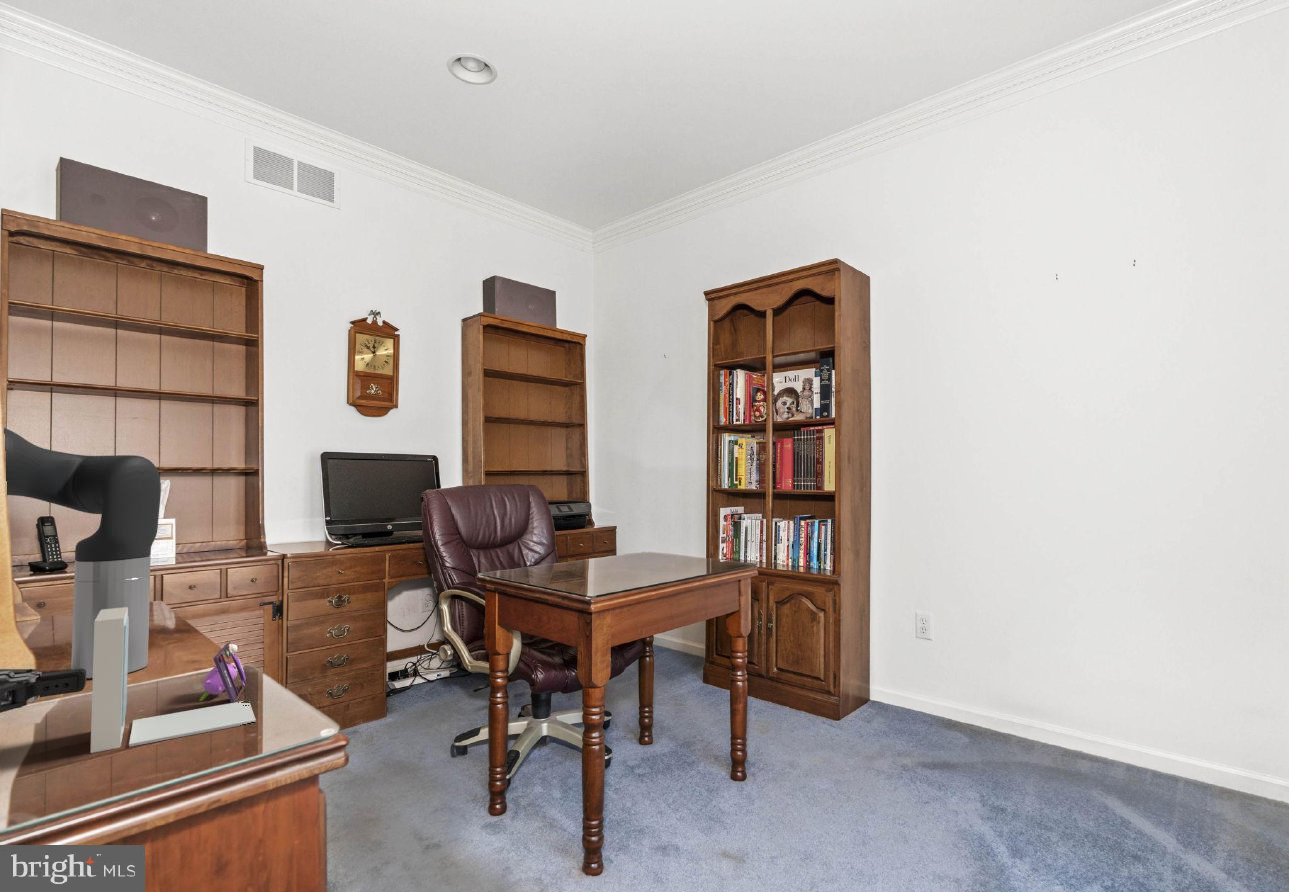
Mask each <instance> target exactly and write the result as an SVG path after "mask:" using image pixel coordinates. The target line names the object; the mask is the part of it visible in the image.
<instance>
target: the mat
mask: <svg viewBox="0 0 1289 892" xmlns="http://www.w3.org/2000/svg"><path fill="white" fill-rule="evenodd" d="M243 701H244V700H241V701H238V702H239V703H238V702H235V703H231V702H230V703H224V704H218V705H213V706H207V707H201V708H195V709H190V710H185V711H178V712H173V713H172V712H171V713H168V714H161V715H156V716H155V715H154V716H149V717H143V718H138V719H133V720H132V724H131V726H132V727H131V733H130V737H129V742H128V747H129V748H131V747H135V746H140V745H146V744H151V743H156V742H162V741H166V740H167V741H168V740H172V739H178V738H183V737H187V736H193V735H198V734H203V733H209V732H214V731H219V730H225V729H230V728H234V727H240V725H241V726H243V725H242V724H246V725H248V724H247V723H251V722H256V723H257V719H256V717H255V714H254V711H253V708H252V705H251V702H250V703H241V702H243ZM243 705H244V706H243ZM245 705H247V706H245ZM248 705H249V706H248ZM251 724H252V723H251Z"/></svg>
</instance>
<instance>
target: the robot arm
mask: <svg viewBox="0 0 1289 892" xmlns="http://www.w3.org/2000/svg"><path fill="white" fill-rule="evenodd" d="M4 434H5V451H6V481H7V495H6V496H18V497H24V498H29V499H34V500H39V501H42V502H46V503H49V504H52V505H53V504H54V505H57V506H61V507H64V508H67V509H71V510H74V511H78V512H82V513H87V514H90V515H92V514H93V515H100V517H101V518H100V523H99V527H98V528H97V530H96V531H95V532H94V533H93V534H91V535H90V536H88V537H85V538H84V539H81V540H79V541H78V542H77V543H76V546H75V550H74V576H73V577H74V578H73V579H74V582H73V584H74V585H73V606H72V607H73V611H72V634H71V635H72V638H71V639H72V640H71V661H70V664H71V666H70V669H67V670H60V671H59V670H58V671H53V672H45V673H42V672H41V671H37V669H36V668H34V669H33V668H19V669H18V668H0V714H2V713H5V712H9V711H12V710H15V709H20V708H23V707H26V706H27V705H28V703H32V702H35V701H37V700H39V698H46V697H53V696H59V695H65V694H73V693H79V692H82V691H83V690H84V689H85V687H86V685H87V679H93V654H94V621H95V619H96V618H97V616H98V614H99V612H100V611H101V610H102V609H113V608H123V607H128V616H129V633H128V670H127V674H129V673H132V672H135V671H139V670H141V669H143V668H145V667H147V666H148V665H149V664H148V662H149V661H148V660H149V659H148V658H149V656H148V655H149V637H150V636H149V633H150V632H149V631H150V629H149V628H150V600H151V599H150V595H151V562H152V561H151V558H152V557H151V556H152V555H151V554H152V546H153V543H154V542H155V540H156V537H157V536H158V535H157V534H158V530H159V529H158V528H159V517H160V507H161V495H162V485H161V477H160V473H159V470H158V468H157V467H156V465H155V464H154V462H153V461H151V460H150V459H149V458H146V457H144V456H140V455H134V454H133V455H132V454H130V455H129V454H126V455H116V454H115V455H84V454H74V453H68V452H62V451H57V450H52V449H47V448H44V447H41V446H38V445H36V444H34V443H32V442H30V441H28V440H27V439H26V438H24V437H23V436H21V435H20V434H18V433H16V432H14V431H13V430H10V429H8V428H6V427H4Z"/></svg>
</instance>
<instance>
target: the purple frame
mask: <svg viewBox="0 0 1289 892" xmlns="http://www.w3.org/2000/svg"><path fill="white" fill-rule="evenodd" d="M237 651H238V645H236V644H233V643H231V641H229V642H227V643H225V644H224V646H223V647H222V648H220V650H219V652H217V654H216V655H215V656H214V657H213V661H214V663H215V666H214V667H213V668H212V669H211V670H210V671H209V672H208V674H207V675H206V677H205V678H204V681H203V683H202V684H203V685H202V686H203V689H204V691H205V692H204V693H203V694H202V696H200V698H199V701H200V702H203V701H204V700H206V698H207V697H208V696H209V695H211V694H212V695H216V694H220V693H222V692H223V691H225V692H226V694H227V696H228V698H229V701H230V703H235V702H236V701H235V699H236V697H237V696H238V695H239V694H238V692H239V691H238V689H237V686H236V684H235V681H234V680H235V678H236V676H238V675H239V678H240V680H241V684H242V686H243V685H244V686H245V683H247V677H246V674H245V671H244V668H243V665H242V663H241V660H240V657H237V655H236V653H237ZM223 653H224V654H223ZM224 655H225V656H224ZM225 657H226V659H228V660H229V659H230V657H232V660H233V662H234V665H233V664H232V663H230V662H229V661H226V660H225ZM237 674H238V675H237Z"/></svg>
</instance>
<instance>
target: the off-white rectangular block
mask: <svg viewBox="0 0 1289 892" xmlns="http://www.w3.org/2000/svg"><path fill="white" fill-rule="evenodd" d="M128 633H129V616H128V607H123V608H113V609H102V610H101V611H100V612H99V614H98V616H97V618H96V619H95V621H94V654H93V678H92V689H91V690H92V691H91V692H92V694H91V699H92V700H91V720H90V721H91V724H90V725H91V727H90V729H91V731H90V754H94V753H99V752H104V751H109V750H115V749H119V748H121V747H122V742H123V736H124V732H125V731H124V730H125V725H126V724H125V723H126V714H127V707H128V706H127V703H128V697H127V696H128V673H127V670H128Z"/></svg>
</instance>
